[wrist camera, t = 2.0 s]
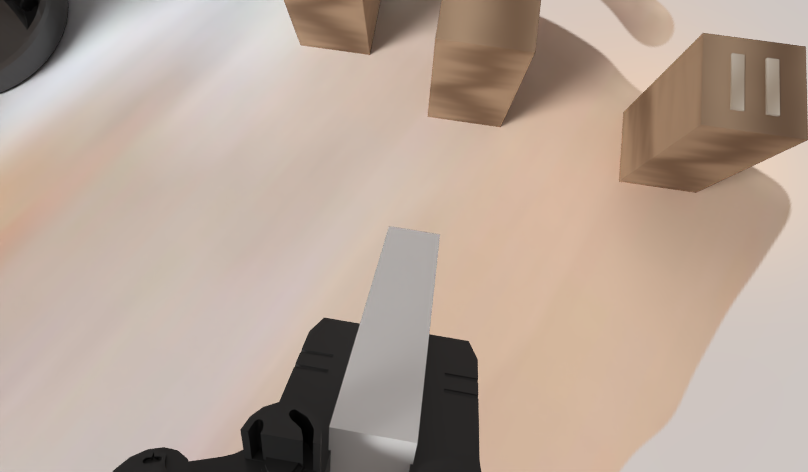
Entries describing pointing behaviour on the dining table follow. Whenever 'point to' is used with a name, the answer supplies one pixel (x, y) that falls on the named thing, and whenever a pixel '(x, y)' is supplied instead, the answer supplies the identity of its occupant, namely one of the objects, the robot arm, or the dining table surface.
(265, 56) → the dining table surface
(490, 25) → the unmarked block
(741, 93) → the marked block 1
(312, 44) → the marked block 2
